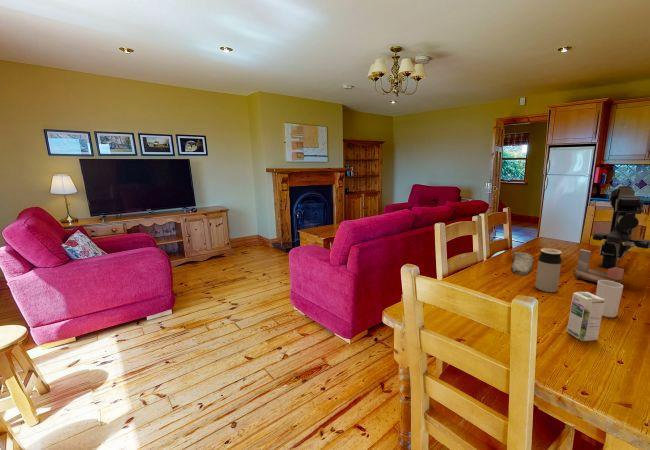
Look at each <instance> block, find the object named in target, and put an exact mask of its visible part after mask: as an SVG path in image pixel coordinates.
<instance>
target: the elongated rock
mask: <svg viewBox="0 0 650 450" xmlns="http://www.w3.org/2000/svg"><path fill="white" fill-rule="evenodd" d="M512 256H513V262H512V263H511V269H512V272H513V273H514V274H515V275H518V276H526V275H528V274H529V273H531V270H533V263H534V258H533V256H532V255H531V254H530V253H528V252H521V251H514V252H513V254H512Z"/></svg>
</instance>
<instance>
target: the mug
mask: <svg viewBox="0 0 650 450" xmlns="http://www.w3.org/2000/svg"><path fill="white" fill-rule="evenodd" d="M596 284H597V285H596V289H595V290H596V292H595V295H596V296H598V297H600V298H602V299H605V303H604V308H603V313H602V317H605V318H615V317H617V315H618V311H619V308H620V307H619V306H620V303H621V298H622V294H623V289H624V285H623V284H621V283H617V282H613V281H608V280H599V281H598V283H596Z"/></svg>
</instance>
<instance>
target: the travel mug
mask: <svg viewBox="0 0 650 450" xmlns="http://www.w3.org/2000/svg"><path fill="white" fill-rule="evenodd" d="M562 254H563V252H562V250H559V249H555V248H547V247H546V248H540V254H539V256H538V262H537V268H536V278H535V286H534V287H535V288H536V289H538V290H539V291H542V292H545V293H555V292H558V287H559V281H560V275H561V268H562V260H563V259H562V257H561V255H562Z"/></svg>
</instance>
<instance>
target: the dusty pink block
mask: <svg viewBox="0 0 650 450" xmlns="http://www.w3.org/2000/svg"><path fill="white" fill-rule="evenodd" d="M624 272H625V269H624V268H620V267H619V268H617V267H613V268H607V278H611V279H615V280H618V279H620V278H622V279H623V278H624ZM620 280H621V279H620Z"/></svg>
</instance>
